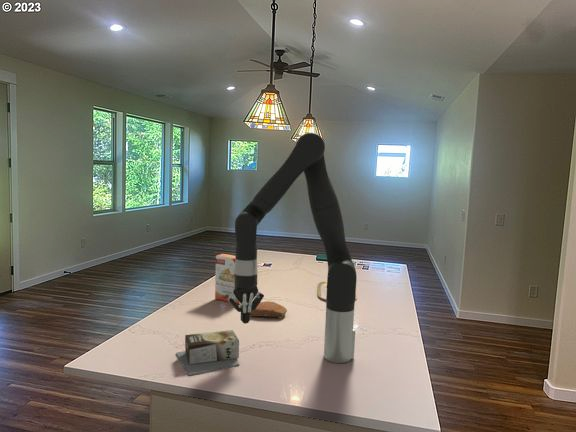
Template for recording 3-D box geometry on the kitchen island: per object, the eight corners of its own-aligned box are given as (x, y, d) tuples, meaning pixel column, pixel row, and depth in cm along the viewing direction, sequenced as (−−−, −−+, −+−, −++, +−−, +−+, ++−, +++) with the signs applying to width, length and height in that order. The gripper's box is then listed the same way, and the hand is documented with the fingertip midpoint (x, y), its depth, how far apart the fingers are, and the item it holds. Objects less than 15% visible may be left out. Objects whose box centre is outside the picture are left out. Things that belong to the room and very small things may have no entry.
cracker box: (214, 299, 196) (215, 255, 194) (222, 296, 201) (222, 253, 199) (239, 304, 190) (240, 259, 187) (246, 301, 195) (247, 257, 192)
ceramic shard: (268, 311, 168) (241, 308, 177) (270, 327, 168) (244, 322, 178) (290, 299, 179) (265, 296, 188) (293, 313, 179) (267, 309, 189)
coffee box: (239, 339, 136) (189, 345, 130) (239, 358, 137) (189, 365, 131) (232, 329, 144) (184, 334, 138) (232, 346, 145) (184, 353, 139)
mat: (222, 345, 147) (222, 344, 147) (239, 365, 133) (239, 364, 133) (176, 353, 139) (176, 352, 139) (189, 375, 125) (189, 374, 125)
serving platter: (317, 303, 198) (317, 299, 197) (317, 282, 232) (317, 279, 232) (357, 305, 196) (358, 302, 196) (352, 284, 231) (352, 281, 231)
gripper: (231, 276, 132) (230, 329, 134) (269, 272, 138) (268, 323, 140) (222, 271, 138) (222, 322, 141) (259, 267, 145) (258, 316, 147)
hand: (245, 322), depth 141 cm, fingers closed
